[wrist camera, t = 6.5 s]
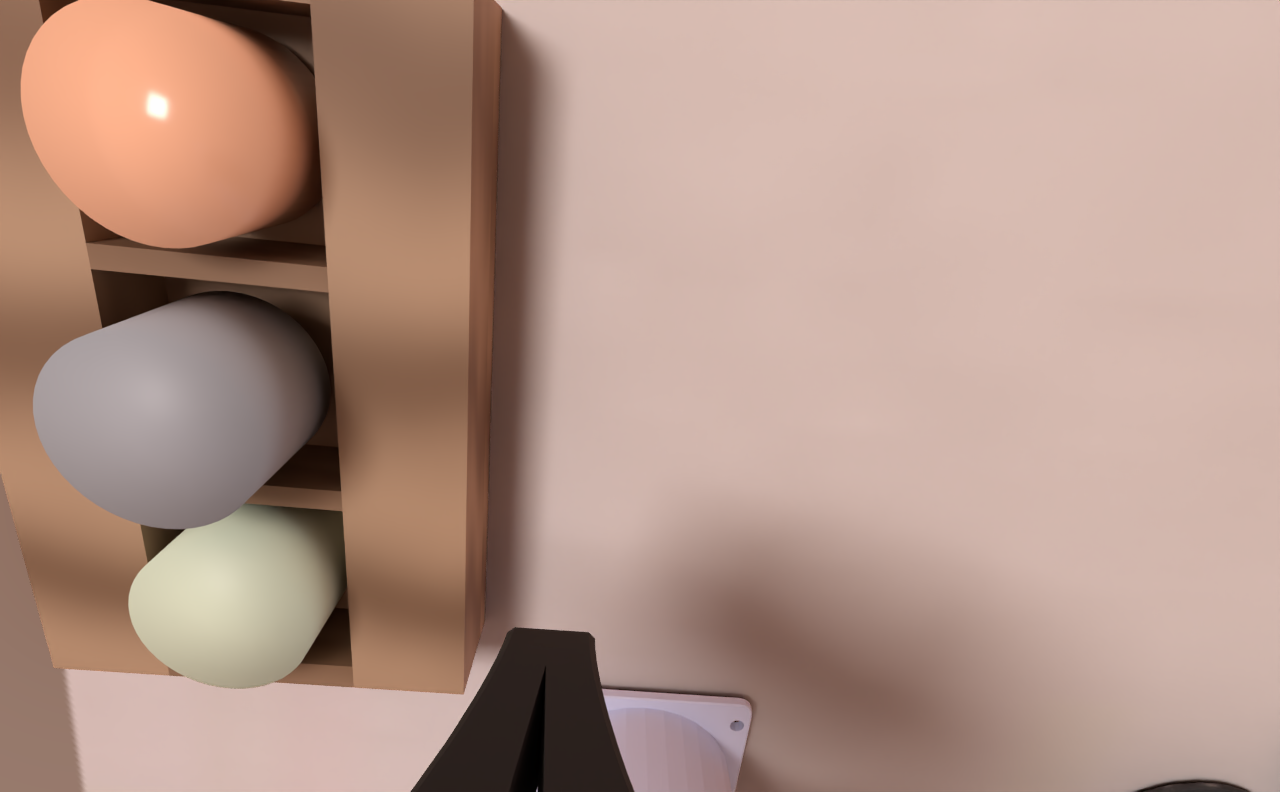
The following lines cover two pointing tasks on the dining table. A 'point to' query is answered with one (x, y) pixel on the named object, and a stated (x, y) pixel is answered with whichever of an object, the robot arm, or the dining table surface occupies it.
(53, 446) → the key slate
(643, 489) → the dining table surface
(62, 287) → the brown wooden flat frame
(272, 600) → the key sage
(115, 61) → the peach rounded block
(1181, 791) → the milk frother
